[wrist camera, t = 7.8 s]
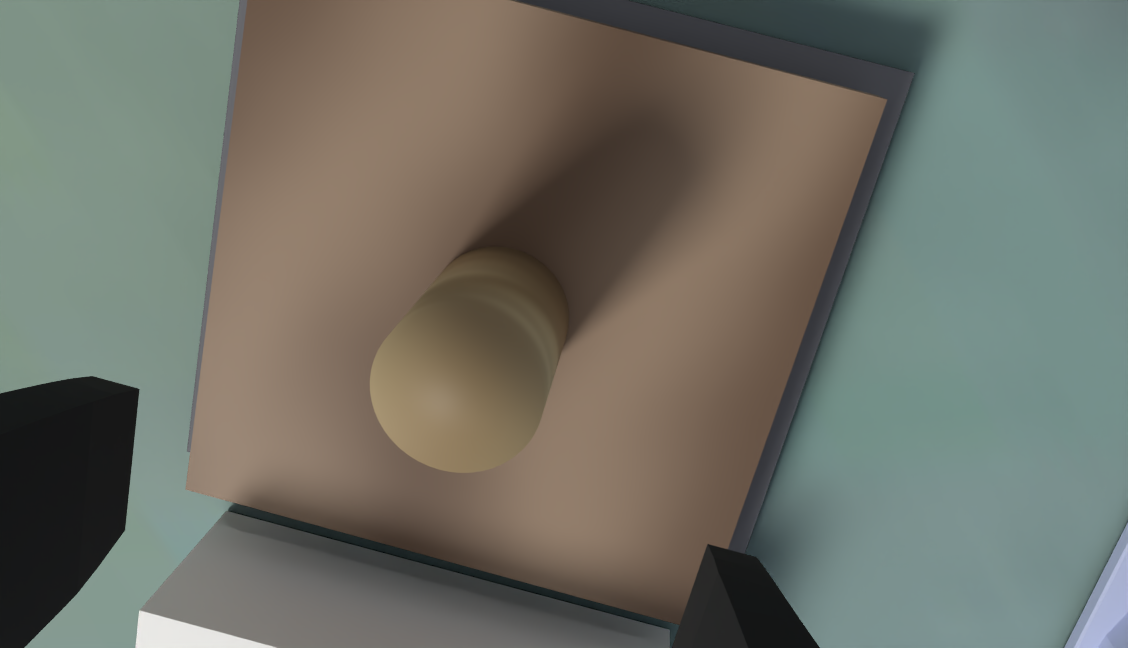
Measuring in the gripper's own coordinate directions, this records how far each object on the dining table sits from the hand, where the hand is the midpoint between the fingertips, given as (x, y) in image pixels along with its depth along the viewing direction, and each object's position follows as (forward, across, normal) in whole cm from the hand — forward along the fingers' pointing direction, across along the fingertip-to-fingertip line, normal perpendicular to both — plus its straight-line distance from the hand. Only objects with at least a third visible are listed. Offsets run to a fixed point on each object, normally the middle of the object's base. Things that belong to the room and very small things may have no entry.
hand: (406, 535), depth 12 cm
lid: (+8, 0, 0) cm, 9 cm away
